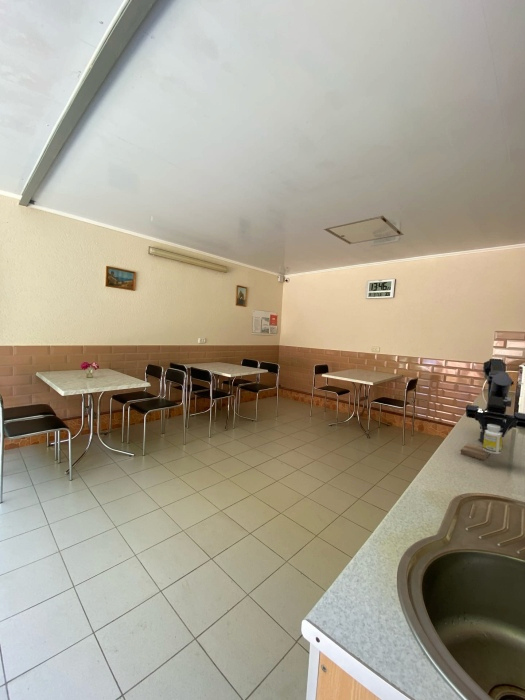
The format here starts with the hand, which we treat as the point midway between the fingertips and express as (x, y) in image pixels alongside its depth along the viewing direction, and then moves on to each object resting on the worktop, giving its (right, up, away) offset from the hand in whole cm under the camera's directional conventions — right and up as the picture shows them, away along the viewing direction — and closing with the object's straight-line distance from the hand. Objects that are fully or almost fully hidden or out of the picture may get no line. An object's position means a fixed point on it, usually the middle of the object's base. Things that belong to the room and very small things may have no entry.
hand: (492, 434), depth 110 cm
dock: (+2, -11, +12) cm, 17 cm away
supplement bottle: (+1, -7, +2) cm, 7 cm away
